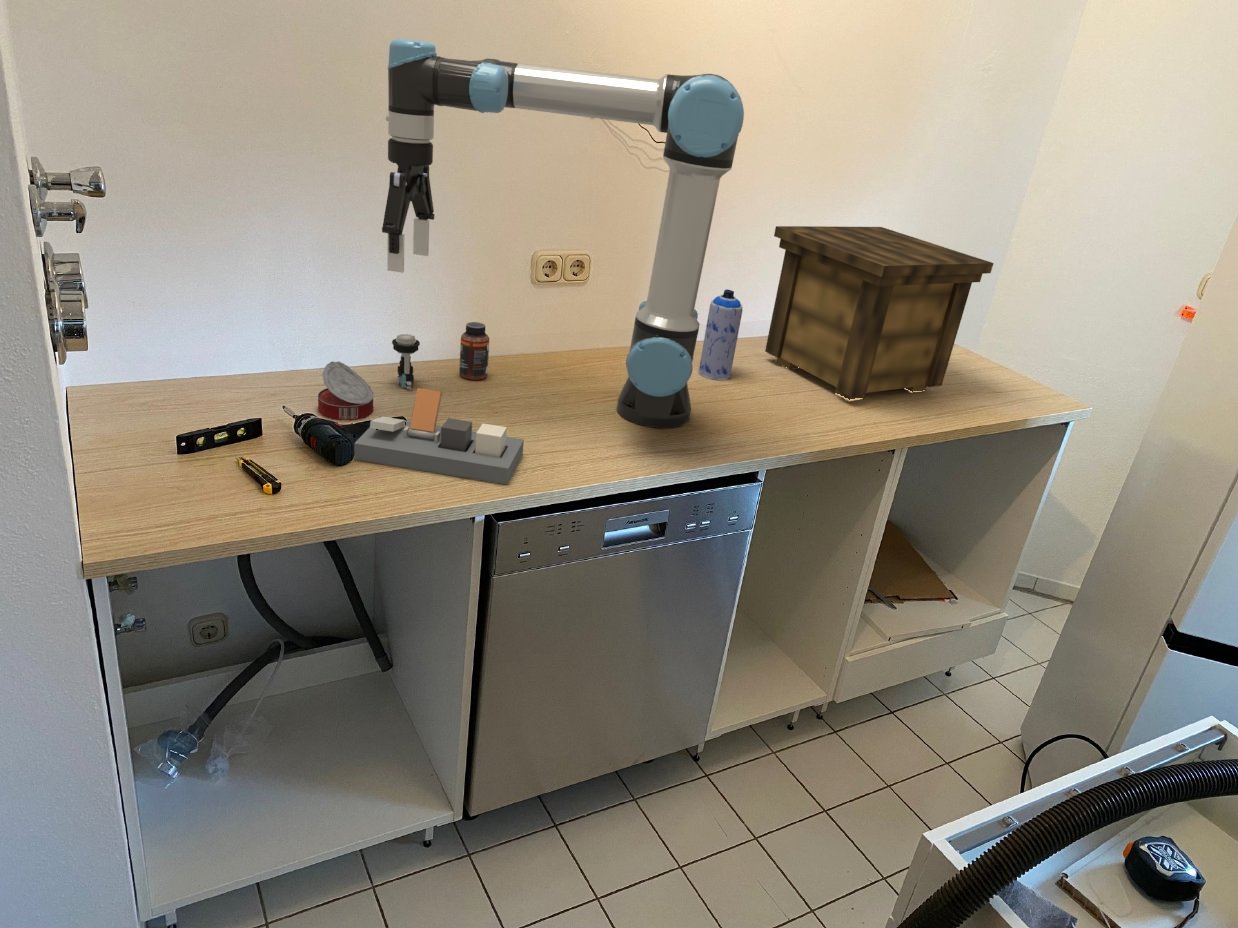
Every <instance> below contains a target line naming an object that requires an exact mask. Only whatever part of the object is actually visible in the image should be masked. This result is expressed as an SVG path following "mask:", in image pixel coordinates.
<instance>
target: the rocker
mask: <svg viewBox="0 0 1238 928" xmlns="http://www.w3.org/2000/svg"><path fill="white" fill-rule="evenodd" d="M379 417H380V418H379ZM379 417H378V418H375V419H372V420H370V424H369V428H374V429H380V430H386V431H392V432H394V431H396V430H398V429H401V428H403V427H404V426H405V421H406V420H405V419H400V418H393V417H388V416H379Z"/></svg>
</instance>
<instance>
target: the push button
mask: <svg viewBox="0 0 1238 928" xmlns="http://www.w3.org/2000/svg"><path fill="white" fill-rule="evenodd" d="M391 344H392V346H393V347H392V348H393V350H394V351H395V352H396V353H398V354H400V361H399V365H397V378H396V383H397V385H399V383H400V385H401V387H402V389H407V390H412V385H414V383H415V382H414V378H415V377H414V367H413V365H412V363H411V358H412V357H411V355H412V354H415V353H417V352H418V351H419V346H420V344H421V342H420V341H419V340H418V339H416V336H414V335H412V334H409V333H406V334H405V333H403V334H398V335H397V336H396V338H394V339H392V341H391Z"/></svg>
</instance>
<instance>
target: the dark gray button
mask: <svg viewBox="0 0 1238 928" xmlns="http://www.w3.org/2000/svg"><path fill="white" fill-rule="evenodd" d="M441 426H442V427H441V444H440V448H444V449H451V450H457V451H463V452H466V450H467V449H468V447H469V446H470V444H471V437H472V431H473V421H470V420H464V419H457V418H452V417H447V419H446V420H445V422H444V423H443V424H442V425H441Z"/></svg>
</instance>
